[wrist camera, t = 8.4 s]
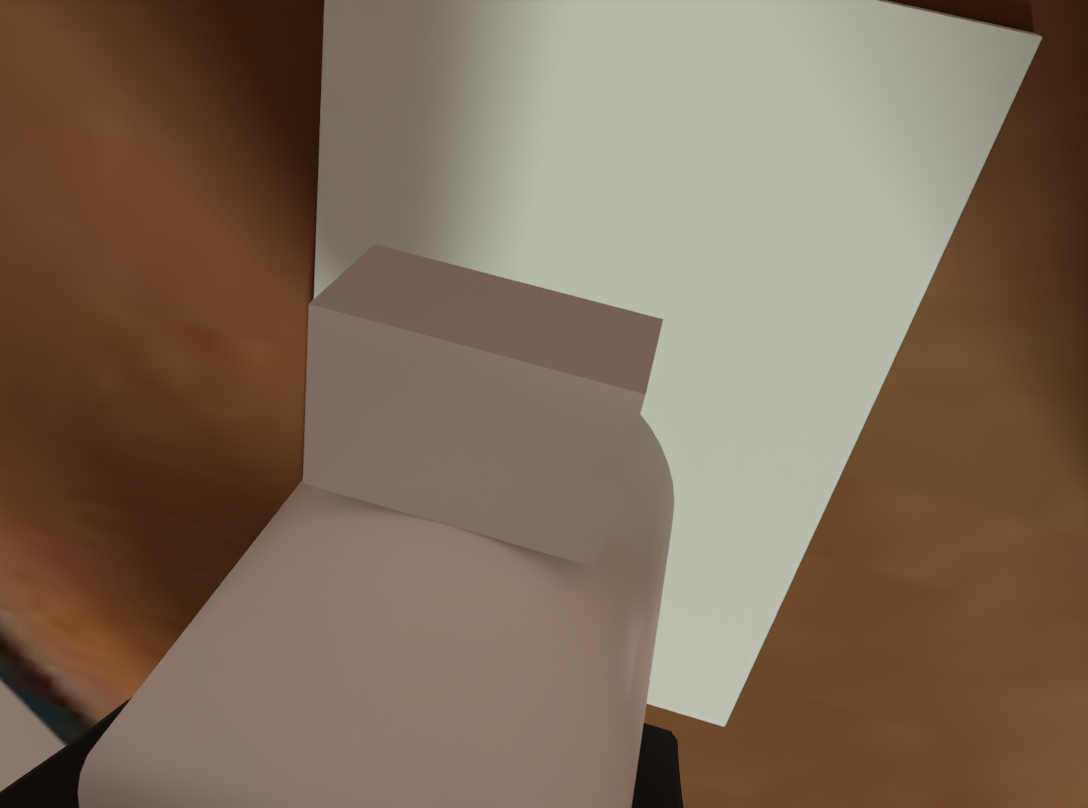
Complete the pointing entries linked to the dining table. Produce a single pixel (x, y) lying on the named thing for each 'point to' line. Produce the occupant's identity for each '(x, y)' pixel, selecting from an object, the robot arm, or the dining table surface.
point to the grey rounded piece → (429, 570)
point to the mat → (684, 228)
